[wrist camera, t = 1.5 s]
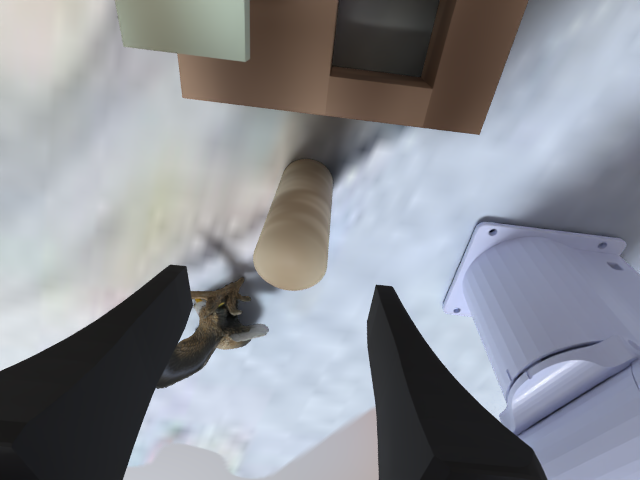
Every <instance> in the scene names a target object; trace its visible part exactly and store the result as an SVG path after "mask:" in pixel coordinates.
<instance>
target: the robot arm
mask: <svg viewBox="0 0 640 480" xmlns="http://www.w3.org/2000/svg"><path fill="white" fill-rule="evenodd" d="M492 229H495V230H494V231H493V232H490V233H489V231H490V230H492ZM600 243H602V244H601V245H599V244H600ZM625 248H626V242H625V241H623V240H622V239H620V238H614V237H605V236H597V235H589V234H581V233H573V232H565V231H556V230H548V229H540V228H532V227H524V226H516V225H508V224H499V223H491V222H482V223H479V224H478V225H477V226H476V228H475V230H474V233H473V235H472V237H471V240H470V242H469V244H468V247H467V249H466V252H465V254H464V256H463V259H462V261H461V263H460V266H459V268H458V270H457V273H456V275H455V278H454V280H453V282H452V285H451V287H450V289H449V292H448V294H447V296H446V299H445V301H444V304H443V307H442V308H443V311H444V312H445V313H447V314H453V315H461V316H469V317H472V318H473V320H474V323H475V325H476V328H477V330H478V333H479V335H480V338H481V340H482V343H483V345H484V348H485V350H486V353H487V355H488V358H489V360H490V363H491V365H492V368H493V370H494V373H495V375H496V378H497V380H498V383H499V385H500V388H501V390H502V393H503V395H504V398H505V400H506V403H507V407H506V409H505V410H504V411H503V412H502V413H500V415H499V417H500V420H501V423H500V422H499V421H498V420H497V419H496V418H495V417H494V416H493V415H492V414H490V413H489V412H488V411H487V410H486V409H485V408H484V407H483V406H482V405H481V404H480V403H479V402H478V401H477V400H476V399H475V398H474V397H473V396H472V395H471V394H470V393H469V392H468V391H467V390H466V389H465V388H464V387H463V386H462V385H461V384H460V383H459V382H458V381H457V380H456V379H455V378H454V376H453V375H452V374H451V373H450V372H449V371H448V369H447V368H446V367H445V366H444V365H443V364H442V362H441V361H440V360H439V359H438V357H437V356H436V355H435V353H434V352H433V351H432V349H431V348H430V347H429V345H428V344H427V342H426V341H425V340H424V338H423V337H422V335H421V334H420V332H419V331H418V329H417V328H416V326H415V324H414V323H413V321H412V320H411V318H410V316H409V315H408V313H407V311H406V310H405V308H404V306H403V304H402V303H401V301H400V299H399V297H398V295H397V293H396V292H395V290H394V288H393V287H392V286H384V285H376V287H375V291H374V295H373V299H372V303H371V307H370V312H369V316H368V320H367V344H368V354H369V361H370V368H371V375H372V382H373V389H374V396H375V404H376V414H377V435H378V463H379V464H378V465H379V480H640V274H639V273H638V272H636V271H635V270H634V269H633V268H632V267H631V266H630V265H629V264H628V263H627V262H626V261H625V260H624V259H622V258H621V257H620V255H621V253H622V252H623V251H624V249H625ZM192 306H193V303H192V297H191V291H190V285H189V279H188V273H187V267H186V266H179V265H169V266H168V267H167V268H165V269H164V270H163V271H161V272H160V273H159V274H158V275H156V276H155V277H154V278H153V279H151V280H150V281H149V282H148V283H146V284H145V285H144V286H143V287H141V288H140V289H139V290H138V291H136V292H135V293H134V294H132V295H131V296H130V297H128V298H127V299H126V300H124V301H123V302H122V303H120V304H119V305H117V306H116V307H115V308H113V309H112V310H110V311H109V312H108V313H106V314H105V315H103V316H102V317H100V318H99V319H97V320H96V321H94V322H93V323H91V324H90V325H88V326H87V327H85V328H83V329H82V330H80V331H78V332H77V333H75V334H73V335H71V336H70V337H68V338H66V339H64V340H63V341H61V342H59V343H57V344H55V345H53V346H51V347H49V348H47V349H46V350H44V351H42V352H40V353H38V354H36V355H34V356H32V357H30V358H28V359H26V360H24V361H21V362H19V363H17V364H15V365H13V366H11V367H8V368H6V369H4V370H2V371H0V480H123V477H124V474H125V471H126V468H127V465H128V462H129V459H130V456H131V453H132V450H133V447H134V444H135V441H136V438H137V436H138V433H139V430H140V427H141V424H142V422H143V419H144V416H145V414H146V411H147V408H148V406H149V403H150V400H151V398H152V395H153V393H154V391H155V388H156V386H157V384H158V382H159V380H160V378H161V376H162V374H163V372H164V370H165V368H166V366H167V364H168V362H169V360H170V358H171V356H172V354H173V352H174V350H175V348H176V346H177V344H178V342H179V340H180V338H181V336H182V333H183V331H184V329H185V327H186V324H187V321H188V318H189V315H190V312H191V309H192ZM455 308H458V309H455Z"/></svg>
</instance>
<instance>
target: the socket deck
mask: <svg viewBox="0 0 640 480" xmlns="http://www.w3.org/2000/svg"><path fill="white" fill-rule="evenodd" d="M527 3H528V0H440V2H439V6H438V10H437V14H436V18H435V22H434V26H433V30H432V34H431V38H430V42H429V46H428V50H427V54H426V58H425V62H424V66H423V71H422V75H421V77H416V76H408V75H400V74H392V73H384V72H376V71H368V70H360V69H352V68H344V67H336V66H332V59H333V50H334V41H335V32H336V23H337V14H338V5H339V0H115V4H116V9H117V14H118V20H119V25H120V30H121V36H122V41H123V46H124V47H130V48H138V49H146V50H154V51H162V52H170V53H177V54H178V63H179V72H180V80H181V89H182V98H187V99H195V100H203V101H212V102H220V103H228V104H236V105H244V106H252V107H260V108H268V109H276V110H284V111H292V112H300V113H308V114H316V115H324V116H332V117H340V118H348V119H356V120H364V121H373V122H381V123H389V124H397V125H405V126H413V127H421V128H429V129H437V130H445V131H453V132H461V133H469V134H477V135H480V132H481V129H482V126H483V124H484V121H485V118H486V115H487V113H488V110H489V107H490V105H491V102H492V99H493V96H494V94H495V91H496V88H497V85H498V83H499V80H500V77H501V74H502V72H503V69H504V66H505V63H506V61H507V58H508V55H509V53H510V50H511V47H512V44H513V42H514V39H515V36H516V33H517V31H518V28H519V25H520V22H521V20H522V17H523V14H524V11H525V9H526V6H527Z"/></svg>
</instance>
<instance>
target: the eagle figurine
mask: <svg viewBox="0 0 640 480" xmlns="http://www.w3.org/2000/svg"><path fill="white" fill-rule="evenodd" d="M243 282H244V278H243V277H241V278H240V279H239V280H238V281H236V282H235V283H233V282H231V283H230V284H229V285H226V286H225V287H224V288H222V289H217V290H216V291H191V297H192V299H195V304H194V308H195V310H196V312H197V314H198V315H199V318H200V320H199V327H198V328H197V330H196V331H195V333H194V334H193V335H192V336H190V337H189V338H187V339H184V340H182V341H181V342H179V343H178V344H177V346H176V348H175V350H174V352H173V354H172V356H171V358H170V360H169V362H168V364H167V366H166V368H165V370H164V372H163V374H162V376H161V378H160V380H159V382H158V384H157V386H156V388H157V389H159V388H164V387H165V388H166V387H168V386H170V385H173V384H175V383H176V382H178V381H181V380H183V379H185V378H188V377H189V376H191V375H193V374H194V373H196V372H198V371H199V370H201V369H202V368H203V367H204V366H205V365H206V364H207V362H208V360H209V358H210V357H211V355H212V354H213V352H214V351H215V349H216V348H219V349H223V350H224V349H234V348H239V347H243V346H245V345H247V344H248V343H249V342H250V341H251V339H253V338H257V337H261V336H265V335H266V334H267V332H268V331H269V329H268V327H267V326H266V325H264V324H254V325H248V326H244V325H242V324H240V322H239V319H238V315H240V314H242V311H240V310H238V305H237V304H238V300H241V301H243V302H248V301H251V298H250V297H249V296H241V294H239V293H238V292H239V289H240V287H241V285H242V284H243ZM201 299H204V300H206V301H207V302H205V301H203V300H201Z"/></svg>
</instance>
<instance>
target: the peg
mask: <svg viewBox="0 0 640 480" xmlns="http://www.w3.org/2000/svg"><path fill="white" fill-rule="evenodd" d="M332 192H333V179H332V175H331V173H330V171H329V170H328V169H327V168H326V166H324V165H323V164H322V163H320V162H318V161H316V160H313V159H300V160H297V161H294V162H292V163H291V164H290V165H289V166H288V167H287V168H286V169H285V171H284V173H283V175H282V178H281V180H280V183H279V186H278V189H277V191H276V194H275V197H274V199H273V202H272V205H271V207H270V210H269V213H268V216H267V218H266V221H265V224H264V226H263V229H262V232H261V234H260V237H259V240H258V243H257V245H256V248H255V251H254V254H253V262H254V266H255V269H256V271H257V272H258V274H259V275H260V276H261V277H262V278H263V279H264V280H265V281H266V282H267V283H269V284H271V285H273V286H275V287H277V288H280V289H284V290H292V291H296V290H303V289H307V288H310V287H312V286H314V285H315V284H317V283H318V282H319V281H320V280H321V279H322V278H323V276H324V275H325V272H326V269H327V260H328V246H329V233H330V219H331V206H332Z"/></svg>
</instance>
